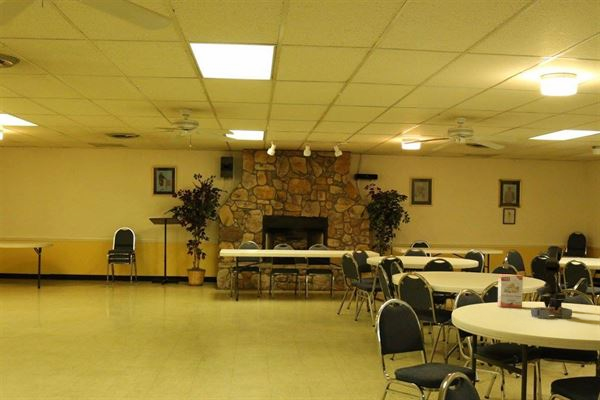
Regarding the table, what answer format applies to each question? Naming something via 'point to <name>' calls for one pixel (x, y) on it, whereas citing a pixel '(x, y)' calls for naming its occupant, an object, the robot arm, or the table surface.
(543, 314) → the brackets
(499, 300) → the cracker box
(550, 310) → the walnut rail
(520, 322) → the table surface
